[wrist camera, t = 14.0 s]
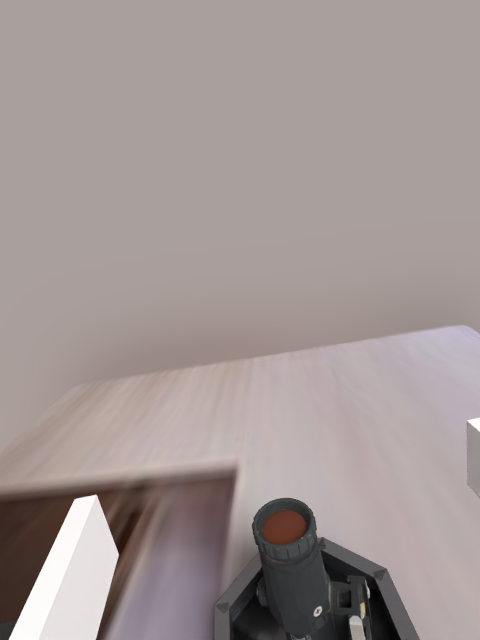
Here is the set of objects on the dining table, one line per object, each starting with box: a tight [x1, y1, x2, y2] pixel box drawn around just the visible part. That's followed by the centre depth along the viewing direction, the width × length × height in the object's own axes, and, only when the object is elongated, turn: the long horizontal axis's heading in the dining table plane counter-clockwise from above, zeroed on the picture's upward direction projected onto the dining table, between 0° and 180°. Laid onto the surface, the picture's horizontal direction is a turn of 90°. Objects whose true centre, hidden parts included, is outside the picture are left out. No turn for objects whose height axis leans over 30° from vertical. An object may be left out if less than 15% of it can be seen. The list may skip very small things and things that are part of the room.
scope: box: [252, 498, 372, 640], centre depth 34 cm, size 8×14×10 cm
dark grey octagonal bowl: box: [214, 537, 420, 640], centre depth 36 cm, size 18×18×2 cm
